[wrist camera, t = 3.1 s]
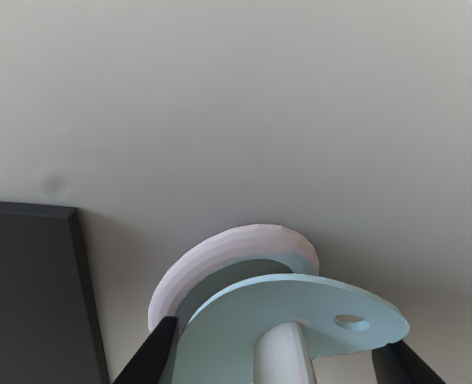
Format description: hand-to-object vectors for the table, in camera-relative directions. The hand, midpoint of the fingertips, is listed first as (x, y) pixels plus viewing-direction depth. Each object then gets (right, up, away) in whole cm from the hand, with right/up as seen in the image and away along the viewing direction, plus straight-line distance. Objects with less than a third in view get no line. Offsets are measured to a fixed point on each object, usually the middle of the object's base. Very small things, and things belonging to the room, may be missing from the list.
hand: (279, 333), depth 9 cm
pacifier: (-1, +1, +1) cm, 2 cm away
